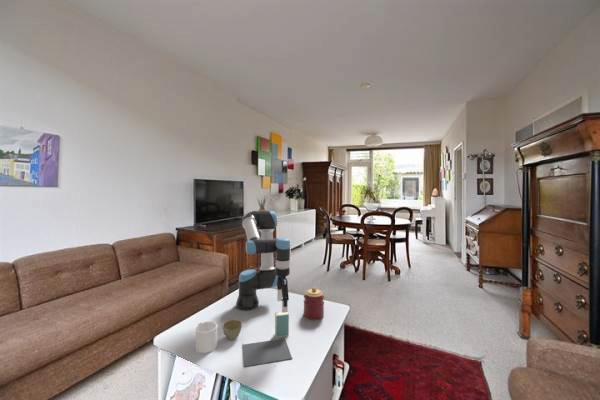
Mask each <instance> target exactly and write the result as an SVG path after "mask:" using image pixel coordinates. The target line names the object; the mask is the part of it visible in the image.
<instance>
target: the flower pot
mask: <svg viewBox="0 0 600 400" xmlns="http://www.w3.org/2000/svg"><path fill="white" fill-rule="evenodd" d="M242 327H243V323H242V321H241V320H239V319H230V320H227V321H225V322H223V324H222V331H223V334H224V336H225V338H226V339H227V340H228V341H234V340H237V338H238V337H239V335H240V333H241V330H242Z"/></svg>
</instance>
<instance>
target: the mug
mask: <svg viewBox="0 0 600 400" xmlns="http://www.w3.org/2000/svg"><path fill="white" fill-rule="evenodd" d="M195 327H196V328H195V350H196V352H197V353H198V354H209V353H211V352H213V351H215V349H217V347H218V323H216V322H215V321H205V322H200V323H198V324H197V326H195Z"/></svg>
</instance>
